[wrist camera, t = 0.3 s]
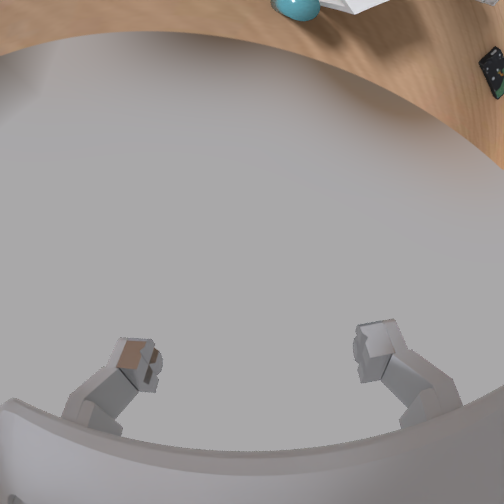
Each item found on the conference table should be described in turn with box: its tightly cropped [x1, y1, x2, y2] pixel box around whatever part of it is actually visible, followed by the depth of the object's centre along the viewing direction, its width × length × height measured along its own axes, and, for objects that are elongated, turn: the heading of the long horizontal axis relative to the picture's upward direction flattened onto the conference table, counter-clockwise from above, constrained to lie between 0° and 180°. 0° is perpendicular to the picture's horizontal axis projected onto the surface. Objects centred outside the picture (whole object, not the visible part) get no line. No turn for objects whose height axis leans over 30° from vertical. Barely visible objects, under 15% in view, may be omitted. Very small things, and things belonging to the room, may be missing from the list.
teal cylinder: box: [271, 0, 320, 21], centre depth 29 cm, size 6×6×12 cm
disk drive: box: [478, 46, 504, 100], centre depth 35 cm, size 10×3×15 cm
